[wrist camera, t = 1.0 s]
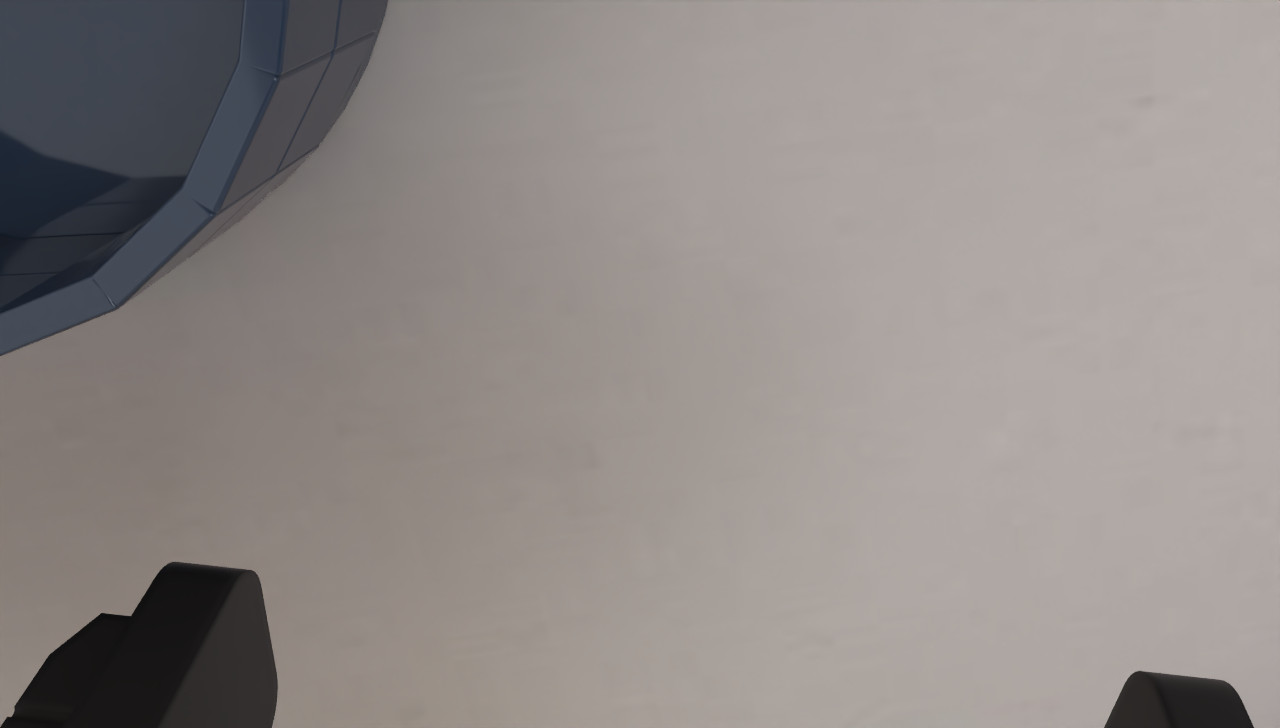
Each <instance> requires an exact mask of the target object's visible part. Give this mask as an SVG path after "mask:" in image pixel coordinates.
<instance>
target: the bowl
mask: <svg viewBox="0 0 1280 728" xmlns="http://www.w3.org/2000/svg"><path fill="white" fill-rule="evenodd" d="M387 2H388V0H0V356H3V355H5V354H8V353H10V352H13V351H15V350H18V349H20V348H23V347H25V346H28V345H30V344H33V343H35V342H38V341H40V340H43V339H45V338H48V337H50V336H53V335H55V334H58V333H60V332H63V331H65V330H68V329H70V328H73V327H75V326H78V325H80V324H83V323H85V322H88V321H90V320H93V319H95V318H98V317H100V316H103V315H105V314H108V313H110V312H113V311H115V310H117V309H119V308H120V307H121V306H123V305H125V304H126V303H127V302H129V301H130V300H131V299H133V298H134V297H136V296H137V295H138V294H140V293H141V292H142V291H144V290H145V289H147V288H148V287H149V286H151V285H152V284H153V283H155V282H156V281H158V280H159V279H160V278H162V277H163V276H165V275H166V274H167V273H169V272H170V271H171V270H173V269H174V268H176V267H177V266H178V265H180V264H181V263H182V262H184V261H185V260H186V259H187V258H189V257H191V256H192V255H194V254H195V253H196V252H198V251H199V250H200V249H202V248H203V247H205V246H206V245H207V244H209V243H210V242H212V241H213V240H214V239H216V238H217V237H218V236H220V235H221V234H223V233H224V232H225V231H227V230H228V229H229V228H231V227H232V226H234V225H235V224H236V223H238V222H239V221H240V220H241V219H243V218H244V217H245V216H246V215H247V214H248V213H249V212H250V211H251V210H252V209H253V208H254V207H255V206H256V205H257V204H258V203H260V202H261V201H262V200H263V199H264V198H265V197H266V196H267V195H268V194H269V193H270V192H272V191H273V190H274V189H276V188H277V187H278V186H280V185H281V184H282V183H284V182H285V181H286V180H287V179H288V178H289V177H290V176H291V175H292V173H293V172H294V171H295V170H296V169H297V168H298V167H299V166H300V165H301V164H302V163H303V162H304V161H305V160H306V159H307V158H308V157H309V156H310V155H311V154H312V153H313V152H314V151H315V150H316V149H317V148H318V147H319V145H320V143H321V142H322V141H323V139H324V138H325V136H326V135H327V133H328V132H329V131H330V129H331V128H332V126H333V125H334V124H335V122H336V121H337V119H338V118H339V117H340V115H341V114H342V112H343V111H344V110H345V108H346V106H347V104H348V102H349V100H350V98H351V96H352V94H353V92H354V90H355V88H356V86H357V84H358V82H359V81H360V79H361V77H362V75H363V73H364V71H365V69H366V67H367V65H368V62H369V59H370V56H371V53H372V51H373V48H374V45H375V42H376V39H377V36H378V33H379V31H380V28H381V25H382V22H383V19H384V16H385V12H386V7H387Z"/></svg>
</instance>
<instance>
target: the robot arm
mask: <svg viewBox="0 0 1280 728" xmlns="http://www.w3.org/2000/svg"><path fill="white" fill-rule="evenodd" d="M277 691H278V682H277V672H276V667H275V661H274V656H273V650H272V644H271V639H270V633H269V627H268V622H267V616H266V611H265V605H264V599H263V594H262V588H261V584H260V580H259V577H258V575H257V574H256V573H255V572H254V571H252V570H246V569H236V568H227V567H218V566H209V565H200V564H191V563H182V562H171V563H169V564H167V565H166V566H164V567H163V568H162V569H161V570H160V572H159V573H158V574H157V576H156V577H155V579H154V580H153V582H152V583H151V585H150V587H149V588H148V590H147V591H146V593H145V595H144V596H143V598H142V599H141V601H140V603H139V604H138V606H137V608H136V609H135V611H134V612H133V614H132V616H123V615H114V614H105V613H101V614H100V615H99V616H97V617H96V618H95V619H94V620H92V621H91V622H90V623H89V624H87V625H86V626H85V627H84V628H82V629H81V630H80V631H79V632H77V633H76V634H75V635H74V636H72V637H71V638H70V639H69V640H67V641H66V642H65V643H64V644H62V645H61V646H60V647H59V648H57V649H56V650H55V651H54V652H52V653H51V654H50V655H49V656H48V658H47V659H46V661H45V662H44V664H43V665H42V666H41V668H40V669H39V671H38V672H37V674H36V675H35V677H34V678H33V680H32V681H31V683H30V684H29V686H28V687H27V689H26V690H25V692H24V693H23V695H22V696H21V698H20V699H19V700H18V702H17V703H16V705H15V706H14V707H15V711H14V714H13V716H12V717H7V718H6V720H5V721H4V723H3V724H2V726H1V727H0V728H272V724H273V720H274V715H275V710H276V703H277ZM1104 728H1254V727H1253V725H1252V722H1251V720H1250V718H1249V716H1248V713H1247V711H1246V709H1245V707H1244V704H1243V702H1242V700H1241V698H1240V697H1239V695H1238V693H1237V692H1236V690H1235V689H1234V688H1233V687H1232V686H1231V685H1230V684H1229V683H1227V682H1225V681H1223V680H1216V679H1207V678H1198V677H1189V676H1180V675H1170V674H1161V673H1152V672H1143V671H1138V672H1135V673H1133V674H1132V675H1131V676H1130V677H1129V678H1128V679H1127V681H1126V683H1125V684H1124V687H1123V689H1122V691H1121V693H1120V695H1119V697H1118V699H1117V701H1116V704H1115V706H1114V708H1113V710H1112V712H1111V714H1110V716H1109V719H1108V721H1107V723H1106V725H1105V727H1104Z"/></svg>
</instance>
